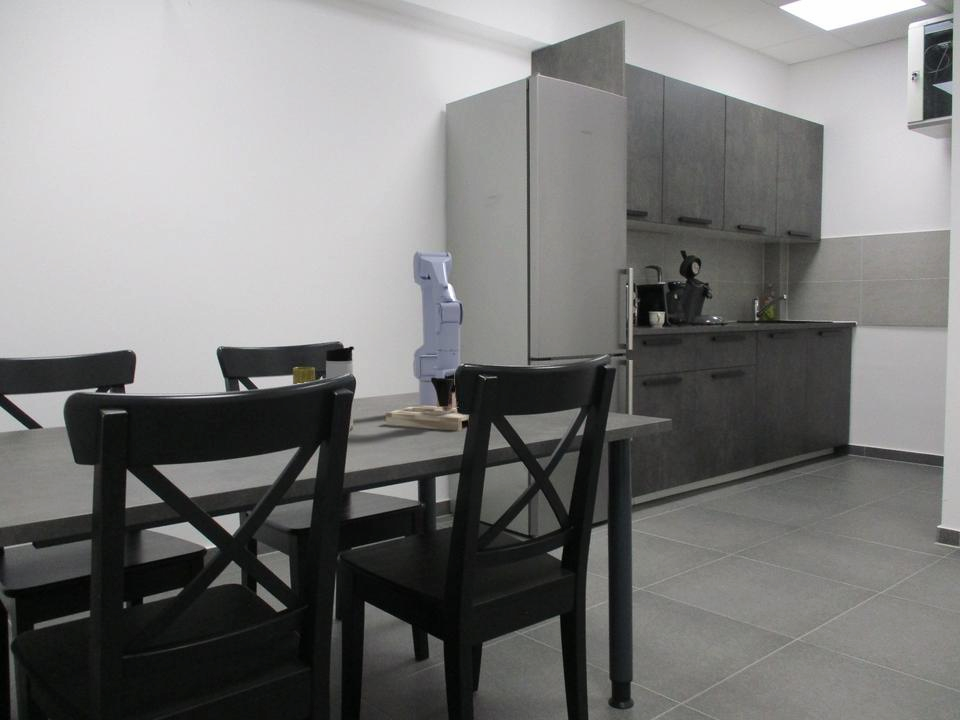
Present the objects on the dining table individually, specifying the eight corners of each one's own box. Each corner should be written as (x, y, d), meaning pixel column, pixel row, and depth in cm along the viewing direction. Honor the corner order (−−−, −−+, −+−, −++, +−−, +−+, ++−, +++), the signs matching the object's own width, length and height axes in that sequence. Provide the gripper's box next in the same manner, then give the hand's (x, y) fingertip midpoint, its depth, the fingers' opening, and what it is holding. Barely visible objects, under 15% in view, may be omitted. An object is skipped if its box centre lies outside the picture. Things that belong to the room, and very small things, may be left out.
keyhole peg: (440, 422, 205) (440, 391, 204) (458, 423, 203) (458, 391, 203) (434, 425, 200) (434, 393, 199) (453, 425, 199) (453, 393, 198)
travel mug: (351, 432, 189) (351, 347, 188) (324, 431, 189) (323, 347, 188) (356, 427, 195) (356, 345, 194) (329, 427, 195) (328, 345, 194)
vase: (322, 424, 200) (321, 367, 199) (304, 427, 195) (303, 369, 194) (304, 422, 203) (303, 366, 202) (286, 425, 198) (285, 368, 197)
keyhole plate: (416, 416, 214) (416, 405, 214) (485, 421, 206) (485, 409, 206) (385, 424, 200) (385, 412, 200) (458, 430, 192) (458, 418, 192)
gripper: (442, 348, 208) (442, 400, 209) (423, 351, 194) (423, 407, 195) (468, 348, 206) (468, 401, 207) (451, 352, 192) (451, 408, 193)
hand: (448, 404), depth 201 cm, fingers open, 7 cm apart
